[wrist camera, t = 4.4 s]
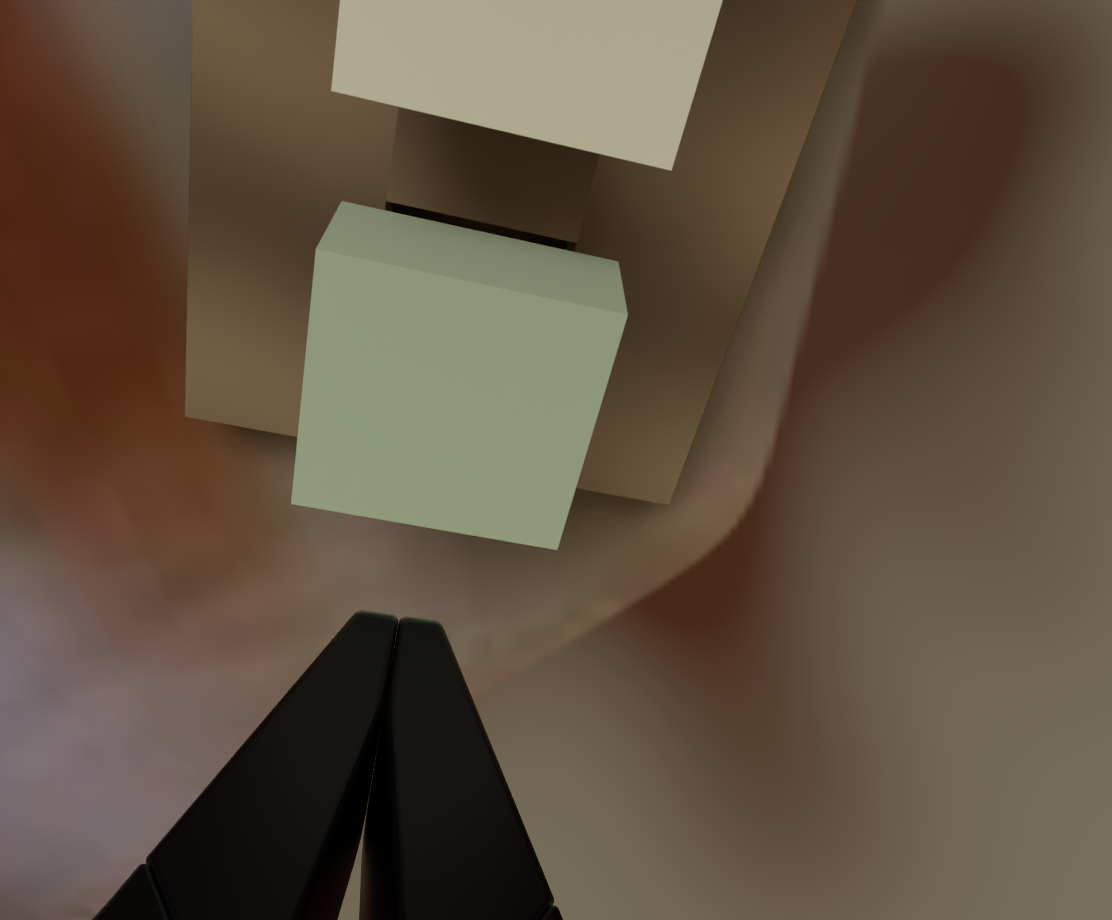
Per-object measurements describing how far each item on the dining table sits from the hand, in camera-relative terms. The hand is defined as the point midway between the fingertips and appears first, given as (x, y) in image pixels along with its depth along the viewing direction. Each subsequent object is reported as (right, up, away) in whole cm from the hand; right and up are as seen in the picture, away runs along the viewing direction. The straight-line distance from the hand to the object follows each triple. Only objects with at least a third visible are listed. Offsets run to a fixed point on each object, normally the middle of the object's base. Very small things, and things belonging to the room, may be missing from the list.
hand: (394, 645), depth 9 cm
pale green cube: (0, +4, +8) cm, 9 cm away
